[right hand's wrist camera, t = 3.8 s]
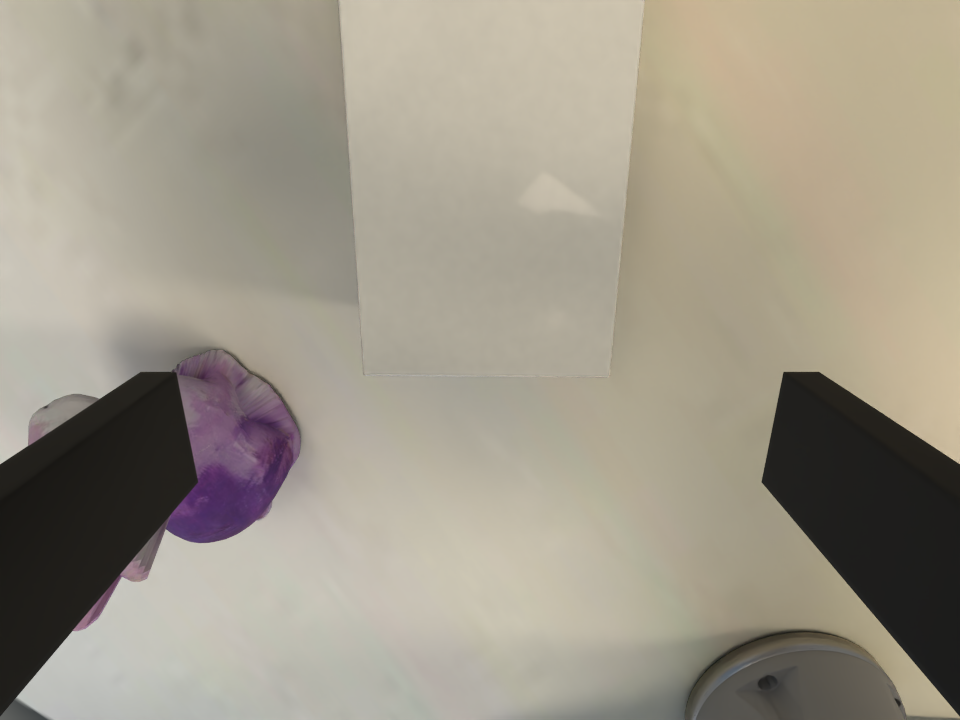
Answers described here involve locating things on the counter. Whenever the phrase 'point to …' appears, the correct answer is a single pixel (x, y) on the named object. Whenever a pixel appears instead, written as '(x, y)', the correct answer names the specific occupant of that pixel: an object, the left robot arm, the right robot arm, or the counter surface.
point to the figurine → (209, 455)
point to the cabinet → (489, 181)
